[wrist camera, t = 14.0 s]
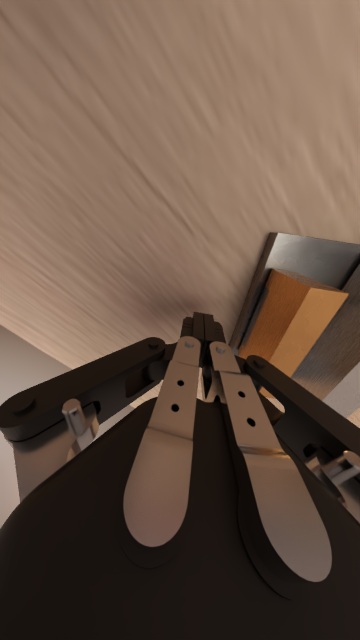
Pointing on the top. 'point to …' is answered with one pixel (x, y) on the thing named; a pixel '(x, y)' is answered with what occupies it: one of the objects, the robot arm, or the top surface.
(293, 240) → the vise
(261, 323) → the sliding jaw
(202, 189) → the top surface
